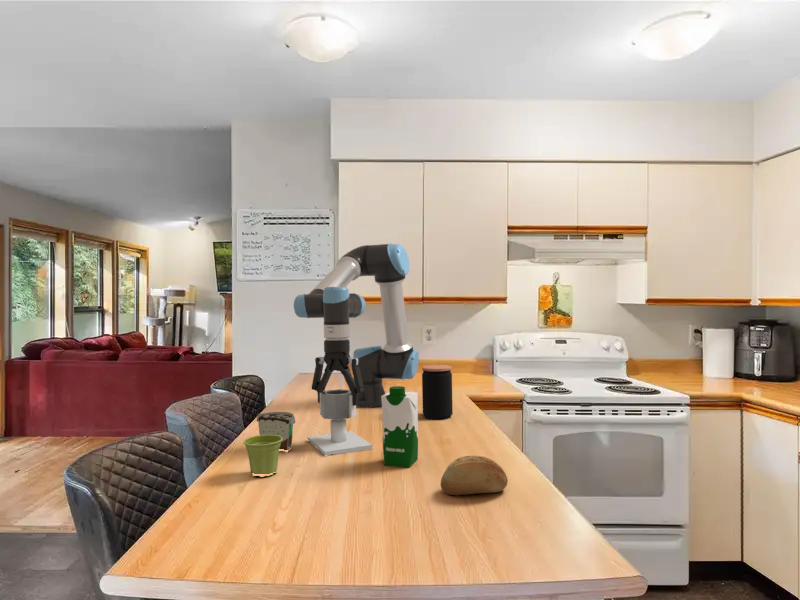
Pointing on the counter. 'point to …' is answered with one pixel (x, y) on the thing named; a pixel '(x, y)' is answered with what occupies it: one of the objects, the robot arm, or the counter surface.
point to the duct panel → (339, 440)
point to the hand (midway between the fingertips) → (338, 415)
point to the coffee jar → (437, 392)
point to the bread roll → (473, 476)
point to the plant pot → (263, 453)
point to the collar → (335, 404)
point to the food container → (277, 426)
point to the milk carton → (400, 427)
